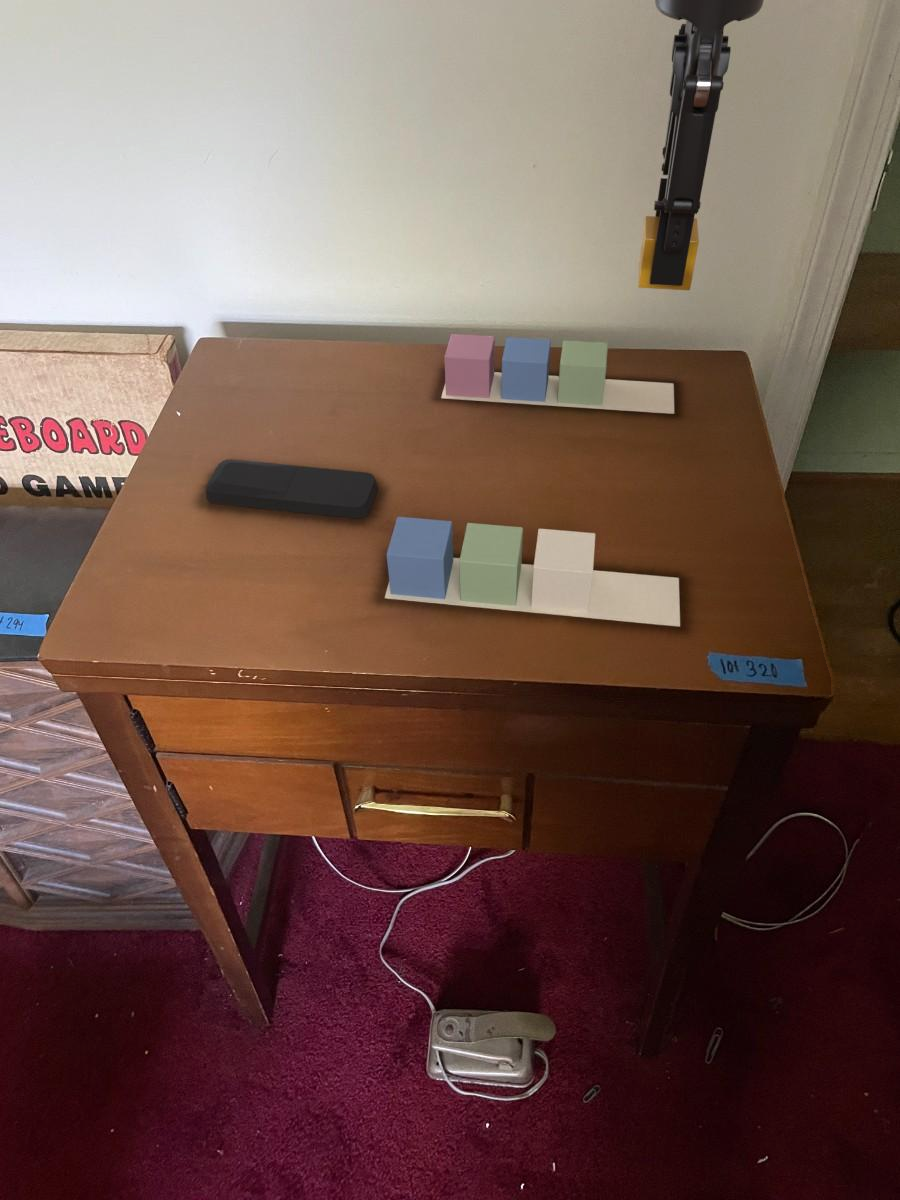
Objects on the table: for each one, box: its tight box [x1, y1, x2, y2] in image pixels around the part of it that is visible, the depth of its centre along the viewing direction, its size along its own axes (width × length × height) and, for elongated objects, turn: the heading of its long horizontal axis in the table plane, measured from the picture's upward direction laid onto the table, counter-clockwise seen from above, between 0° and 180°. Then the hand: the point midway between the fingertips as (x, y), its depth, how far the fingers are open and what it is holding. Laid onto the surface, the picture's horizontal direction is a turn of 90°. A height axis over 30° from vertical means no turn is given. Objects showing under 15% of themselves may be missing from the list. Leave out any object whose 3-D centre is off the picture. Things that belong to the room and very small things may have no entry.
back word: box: [440, 333, 675, 415], centre depth 89 cm, size 23×5×4 cm, turn 81°
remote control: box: [205, 458, 379, 519], centre depth 80 cm, size 5×2×15 cm
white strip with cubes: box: [384, 516, 681, 627], centre depth 70 cm, size 23×5×4 cm, turn 81°
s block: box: [637, 215, 700, 291], centre depth 77 cm, size 4×4×4 cm
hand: (665, 268), depth 78 cm, fingers closed on s block, 4 cm apart
